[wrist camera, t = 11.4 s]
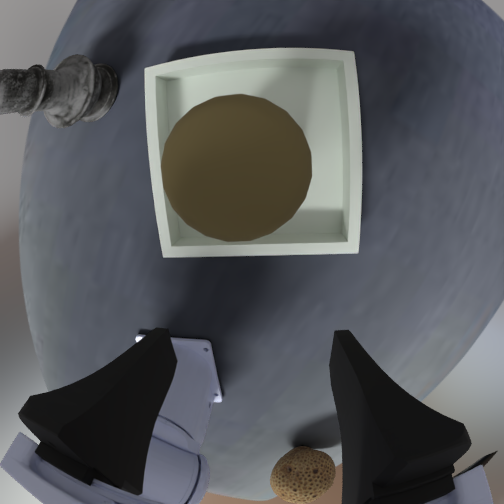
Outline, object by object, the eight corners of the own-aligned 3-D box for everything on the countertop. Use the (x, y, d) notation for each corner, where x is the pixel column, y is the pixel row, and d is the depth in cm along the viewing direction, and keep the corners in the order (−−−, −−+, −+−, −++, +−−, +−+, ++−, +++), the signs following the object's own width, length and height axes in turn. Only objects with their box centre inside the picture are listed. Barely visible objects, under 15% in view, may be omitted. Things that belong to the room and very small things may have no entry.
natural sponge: (278, 430, 30) (275, 495, 20) (341, 431, 29) (349, 492, 20) (268, 455, 33) (264, 508, 24) (322, 456, 33) (325, 507, 24)
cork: (307, 191, 18) (346, 250, 8) (223, 208, 19) (165, 281, 9) (289, 107, 16) (307, 53, 6) (203, 127, 17) (115, 109, 7)
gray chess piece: (126, 109, 17) (-1, 115, 6) (75, 135, 18) (-38, 163, 7) (116, 49, 15) (3, 21, 4) (66, 79, 16) (-41, 81, 5)
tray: (349, 241, 20) (358, 253, 17) (174, 245, 21) (163, 257, 19) (345, 61, 15) (353, 51, 12) (158, 75, 16) (144, 68, 14)
